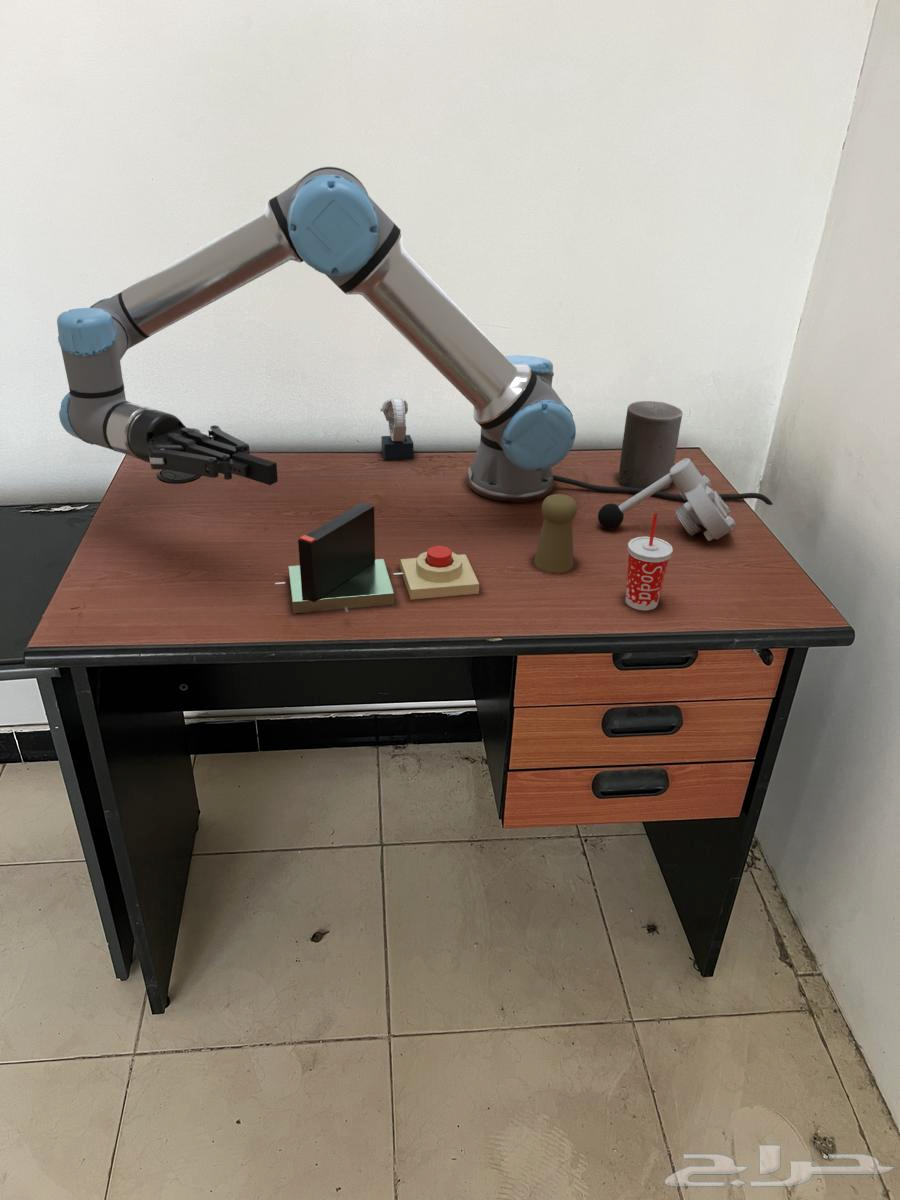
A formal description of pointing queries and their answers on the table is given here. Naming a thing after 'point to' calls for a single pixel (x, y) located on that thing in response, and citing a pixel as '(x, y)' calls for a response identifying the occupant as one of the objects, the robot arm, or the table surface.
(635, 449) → the pillar candle
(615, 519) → the mechanical valve
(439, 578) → the button box
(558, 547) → the olive pawn
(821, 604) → the table surface
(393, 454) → the watch
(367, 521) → the black panel
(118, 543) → the table surface
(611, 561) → the table surface
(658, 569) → the beverage cup
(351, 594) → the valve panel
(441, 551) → the red push button
